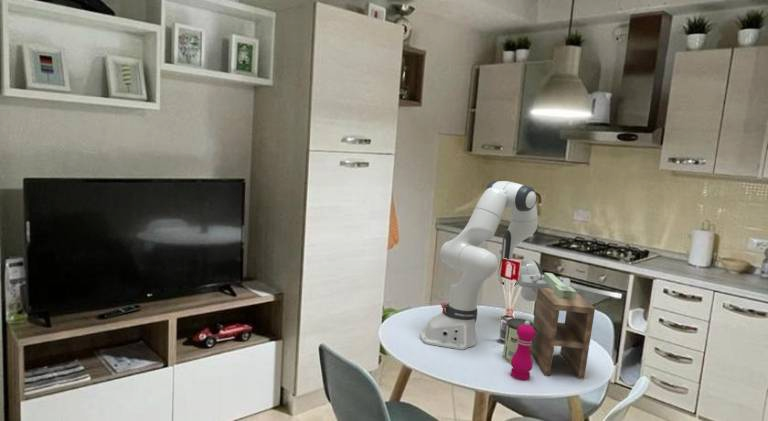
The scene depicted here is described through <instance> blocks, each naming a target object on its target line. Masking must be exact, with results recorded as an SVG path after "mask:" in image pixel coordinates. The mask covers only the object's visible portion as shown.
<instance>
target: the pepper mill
mask: <svg viewBox="0 0 768 421" xmlns="http://www.w3.org/2000/svg"><path fill="white" fill-rule="evenodd" d="M529 321H530V320H527V321H525V323H524V324H523V325H520V326H519V327H518V329H517V335H518V336H519V337H518V338H517V339H518V340H517V342H518V348H517V351H516V352H515V354H514V355H513V357H512V360H511V363H510V366H511V367H512V368H511V369H510V376H511V377H512V378H514V379H516V380H519V381H520V380H521V381H526V380H529V379H530V377H531V376H530V375H531V372H530V371H531V370H532V369H533V358H532V355H531V356H530V346H531V345H532V339H533V338H534V336H535V330H534V328H533V327H531V326H530V322H531V321H530V322H529Z"/></svg>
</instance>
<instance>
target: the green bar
mask: <svg viewBox="0 0 768 421" xmlns="http://www.w3.org/2000/svg"><path fill="white" fill-rule="evenodd" d="M543 276H544V281H545V282H546V283H547V284H548V285H549V286H550V287H551V288H552V289H553V290H554V294H555V295H556V296H557V297H558V298H562V299H573V300H575V298H576V292H577V291H576V290H575V289H574V288H573V287H572V286H570V287H568V286H566V285H565V284H563V283H562V282H561V281H560V280H559V279H558V278H557V277H558V276H556V275H555V274H554V273H552V272H543Z"/></svg>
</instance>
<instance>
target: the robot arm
mask: <svg viewBox="0 0 768 421" xmlns="http://www.w3.org/2000/svg"><path fill="white" fill-rule="evenodd" d="M537 198H538V196H537V193H536V191H535V189H534V188H533V187H532V186H529V185H527V184H525V185H524V184H521V183H517V182H514V181H508V180H501V179H498V180H492V181H490V182H489V183H488V184H487V186H486V187H485V190H484V192H483V193H482V195H481V196H480V198H479V200H478V201H477V203H476V205H475V207H474V209H473V212H472V214H471V216H470V218H469V220H468V222H467V224H466V225H465V226H464V228H463V229H462V231H461V232H460V233H458V234H457V235H456V236H455V237H454V238H452V239H450V240H448V241H446V242H444V244H442V246H441V247H440V248H441V249H440V250H439V258H440V260H441V262H442V263H444V264H445V265H447V267H450V268H451V269H455V270H457V271H459V272H460V271H461V277H460V279H459V280H456V281H454V282H453V283H452V284H451V285H450V288H449V296H448V303H446V302H444V301H443V302H441V304H440V306H441V308H442V312H441V313H438V314H436V315H435V316H433V317H431V318H430V319H428V322H427V325H426V328H422V329H421V330H420V333H419V336H420V340H421V341H422V342H423V343H425V344H427V345H430V346H431V345H432V346H437V347H443V348H444V347H445V348H448V349H449V348H451V349H456V350H462V351H463V350H465V349H467V348H471V347H475V346H476V345H477V342H478V341H477V337H476V322H477V319H478V300H479V299H478V298H479V293H480V289H481V287H482V285H483V284H484V282H485V281H486V280H487V279H489V278H490V277H493V275H494V274H495V273H496V271H497V269H498V271H497V276H498V280H499V283H500V284H501V285H503V286H504V282H503V279H502V278H501V276H500V271H501V263H502V259H504V258H507V259H512V260H513V256H514V250H515V248H516V247H517V245H518V244H521V242H523V241H525V240H527V239H528V238H530V237H531V236H533V234H535V232H536V231H537V228H538V207H537ZM505 210H510V222H509V223H510V224H509V226H508V228H507V230H506V231H504V233H503V237H502V242H501V251H500V252H501V253H500V260H499V261H498V257H497V256H496V254H495V253H493V252H491V251H489V250H488V249H486V248H483V247H479V246H480V245H481V244H482V243H484V242H486V241H488V240H491V239H493V237H494V236H495V234H496V232H497V229H498V227H499V225H500V223H501V220H502V218H503V216H504V212H505ZM499 262H500V263H499ZM519 262H521V267H520V275H519V280H518V281H517V282H516V283H515V285H514V286H513V287H515V286H516V285H519V287H521V290H520V295H521V298H522V299H524V300H525V301H527V302H536V299H537V292H538V287H540V288H551V287H550V286H549V285H548V284H547V283H546V282H545V281H544V272H543V268H542V266H541V264H540V263H539V262H537V261H536V260H535V259H533V258H529V259H524V260H521V261H520V260H519ZM498 263H499V267H498ZM556 277H557V278H558V279H559V280H560V281H561V282H562V283H563V284H565V285H566V286H568V287H571V279H570V278H566V277H561V276H556ZM551 289H552V288H551Z"/></svg>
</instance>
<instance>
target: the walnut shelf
mask: <svg viewBox="0 0 768 421" xmlns="http://www.w3.org/2000/svg"><path fill="white" fill-rule="evenodd" d="M534 308H535V310H534V316H533V321H532V323H534V324H535V336H534V338H533V344H532V352H531V358H532V359H533V360H534V361H535V363H536V364H537V366H538V368H539V370H540V371H541V373H542V374H543V375H544V376H547V377H550V376H551V372H552V365H553V364H552V363H553V356H554V351H555V347H560V353H559V354H560V357H561V358H562V359H563V360H564V362H565V363H566V364H567V365H568V367H569V368H570V370H571V371H572V373H574V375H575V376H576V378H577V379H578V380H585V375H586V369H587V363H588V355H589V349H590V343H591V336H592V330H593V325H594V324H593V323H594V317H595V310H596V308H595V307H594V306H593V304H591V303H590V302H589V301H588V300H587V299H585V298H584V297H583V296H582V295H580V294H579V293H578V291H576V298H575V300H573V299H562V298H558V297H557V296H556V295H555V294H554V290H553V289H551V288H540V287H538V292H537V299H536V301H535V307H534ZM560 311H561V312H565V319H564V322H559V315H560Z"/></svg>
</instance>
